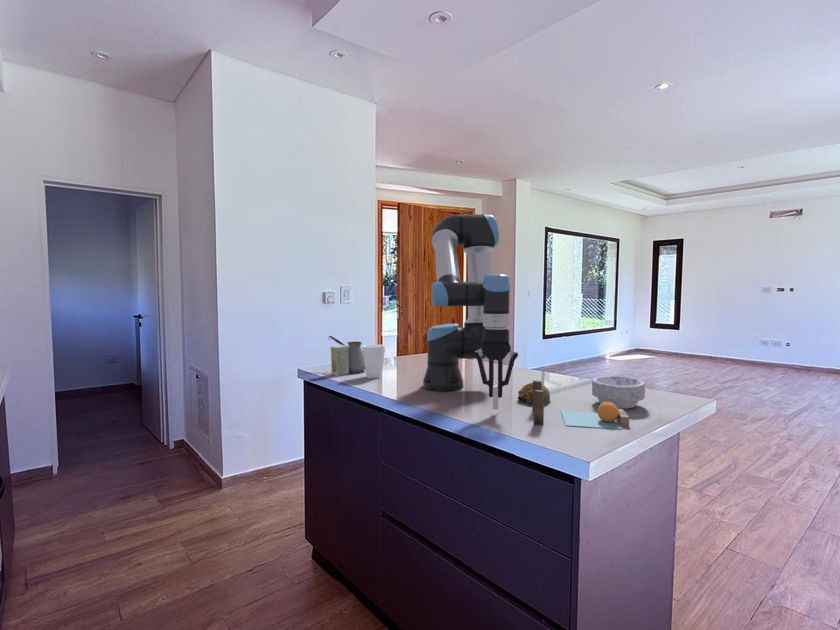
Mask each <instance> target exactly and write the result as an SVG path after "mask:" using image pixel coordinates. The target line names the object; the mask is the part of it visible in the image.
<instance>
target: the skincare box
mask: <svg viewBox="0 0 840 630" xmlns="http://www.w3.org/2000/svg"><path fill="white" fill-rule="evenodd" d="M344 345H345V344H344ZM344 345H341V344H340V345H337V346H335V345H334V346H331V347H330V358H331V359H330V361H331V375H332V376H334V377H335V376H336V377H340V376H344V375H349V374H350V373H349V363H348V347H349V346H348V345H346V346H344Z"/></svg>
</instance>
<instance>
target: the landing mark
mask: <svg viewBox="0 0 840 630" xmlns="http://www.w3.org/2000/svg"><path fill="white" fill-rule="evenodd" d="M560 412H561V416H562V419H563V421H564V425H565V427H573V428H574V427H575V428H576V427H577V428H594V429H610V430H622V426H621V425H620V424H619V422H618V421H617V420H615V421H613V422H605V421H603V420H601V419H600V418H599V416H598V413H597V412H591V411H590V412H589V411H588V412H587V411H574V410H573V411H572V410H570V411H569V410H568V411H567V410H561V411H560Z"/></svg>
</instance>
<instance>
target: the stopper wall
mask: <svg viewBox="0 0 840 630" xmlns="http://www.w3.org/2000/svg"><path fill="white" fill-rule="evenodd" d="M618 410H619V416H618V418H617V419H616V421H617V423H618V424H619V426H620V427H630V416H629V415H628V414H627V413H626V411H625V410H624V409H618Z"/></svg>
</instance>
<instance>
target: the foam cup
mask: <svg viewBox="0 0 840 630" xmlns="http://www.w3.org/2000/svg"><path fill="white" fill-rule="evenodd" d="M361 346H362V347H361V349H362V352H363V356H364V363H365V370H364V371H365V375H366V378H367V379H372V378H375V379H380V377H381V378H382V377H383V371H384V369H383V368H384V363H385V354H386V344H385V345H384V344H377V343H376V344H373V343H372V344H364V345H361Z"/></svg>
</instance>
